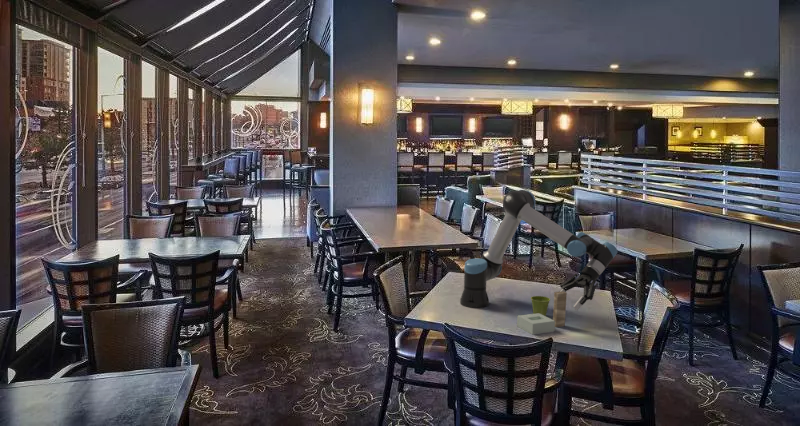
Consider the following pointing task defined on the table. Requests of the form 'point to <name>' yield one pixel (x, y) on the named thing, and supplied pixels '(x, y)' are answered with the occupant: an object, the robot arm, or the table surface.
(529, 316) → the end cap
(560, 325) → the slat
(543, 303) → the plant pot
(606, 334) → the table surface
